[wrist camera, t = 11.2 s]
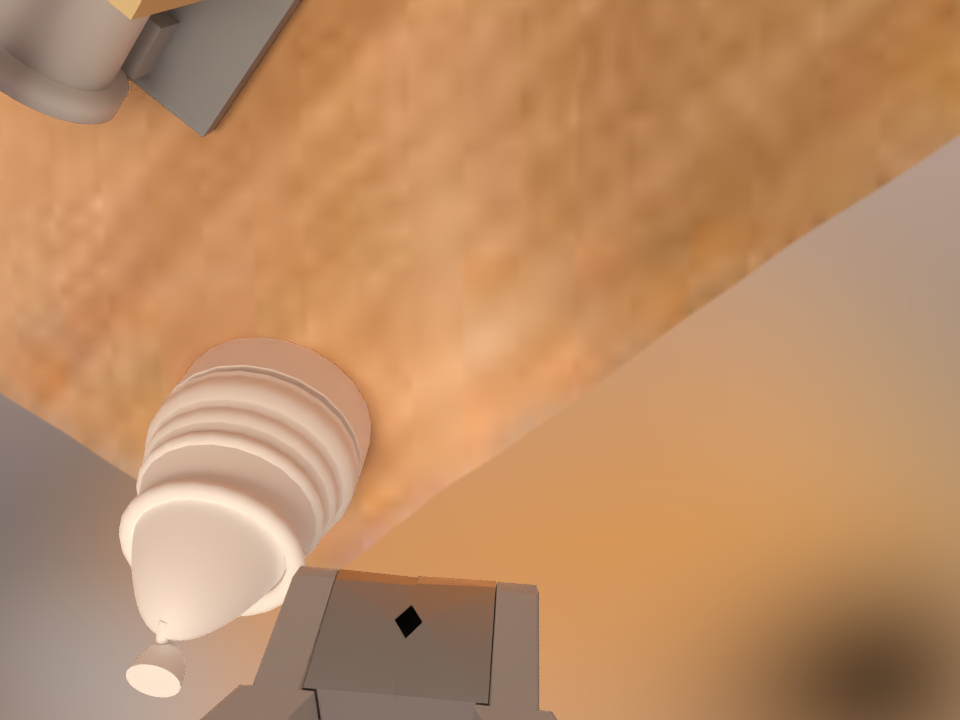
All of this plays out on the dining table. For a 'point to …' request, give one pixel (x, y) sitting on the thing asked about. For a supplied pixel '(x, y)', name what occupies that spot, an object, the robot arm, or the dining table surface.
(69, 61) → the valve
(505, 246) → the dining table surface
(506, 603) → the robot arm
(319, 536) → the honey pot
